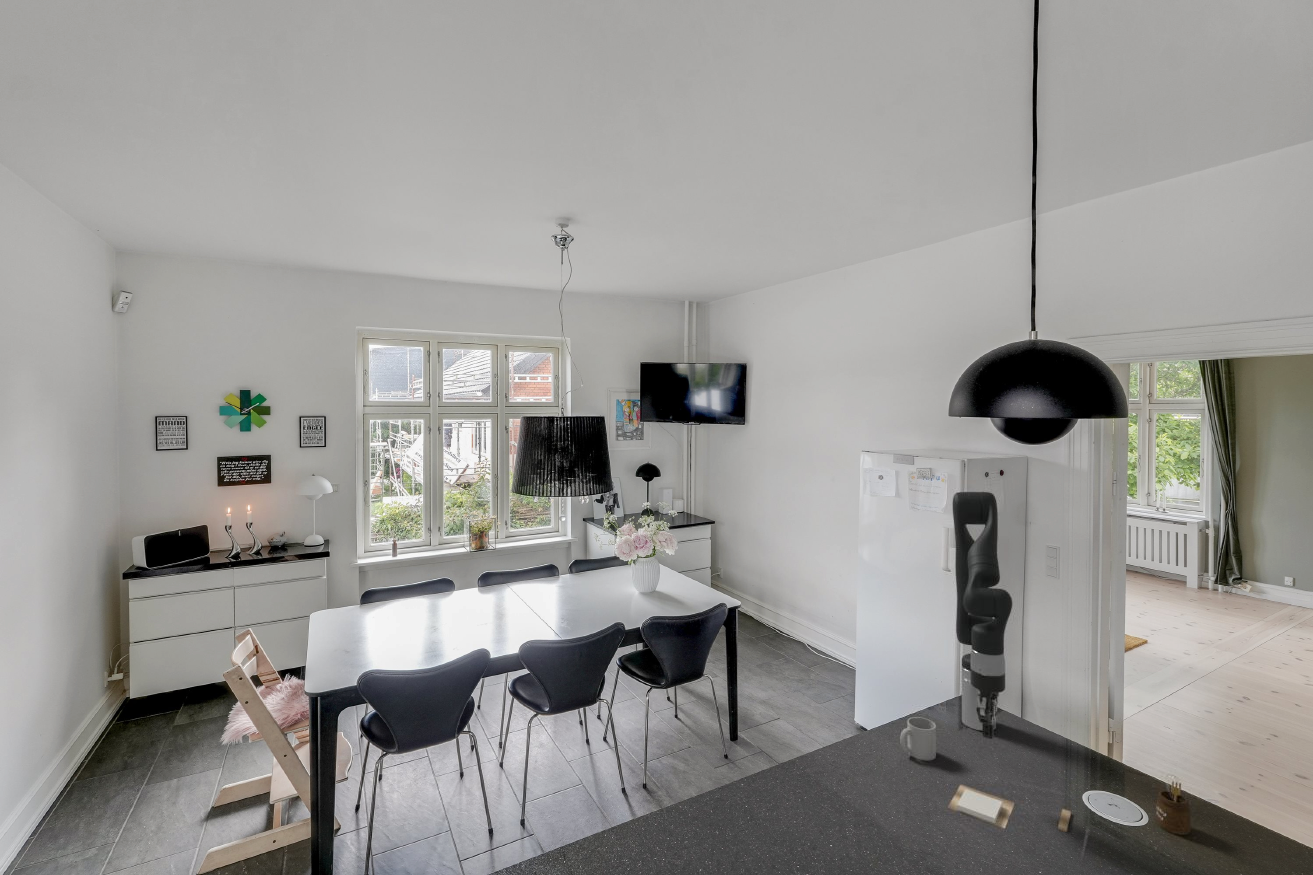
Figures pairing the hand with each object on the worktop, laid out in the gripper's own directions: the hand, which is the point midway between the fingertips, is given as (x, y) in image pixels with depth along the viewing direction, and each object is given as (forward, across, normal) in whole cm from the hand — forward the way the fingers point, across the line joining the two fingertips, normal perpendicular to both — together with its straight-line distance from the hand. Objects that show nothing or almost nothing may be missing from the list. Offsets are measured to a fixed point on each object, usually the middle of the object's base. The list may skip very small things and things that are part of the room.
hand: (988, 736), depth 149 cm
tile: (+13, +5, 0) cm, 14 cm away
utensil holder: (+14, -11, +35) cm, 40 cm away
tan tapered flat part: (+14, +5, +16) cm, 22 cm away
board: (+14, +8, 0) cm, 16 cm away
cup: (+15, -6, -19) cm, 25 cm away
